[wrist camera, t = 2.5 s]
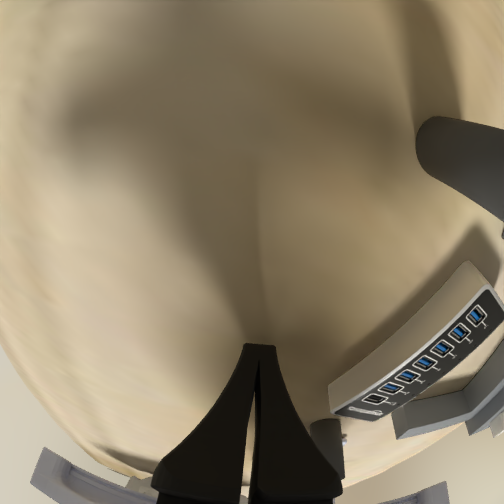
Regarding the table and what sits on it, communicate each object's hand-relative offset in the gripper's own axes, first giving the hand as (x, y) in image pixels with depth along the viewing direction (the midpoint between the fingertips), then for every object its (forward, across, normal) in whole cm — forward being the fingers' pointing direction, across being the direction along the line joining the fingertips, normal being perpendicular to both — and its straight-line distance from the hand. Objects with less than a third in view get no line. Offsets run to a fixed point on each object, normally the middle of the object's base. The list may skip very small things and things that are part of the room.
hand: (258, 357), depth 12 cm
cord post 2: (+1, -6, -10) cm, 12 cm away
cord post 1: (+1, -6, +10) cm, 12 cm away
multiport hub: (+2, -9, 0) cm, 9 cm away
